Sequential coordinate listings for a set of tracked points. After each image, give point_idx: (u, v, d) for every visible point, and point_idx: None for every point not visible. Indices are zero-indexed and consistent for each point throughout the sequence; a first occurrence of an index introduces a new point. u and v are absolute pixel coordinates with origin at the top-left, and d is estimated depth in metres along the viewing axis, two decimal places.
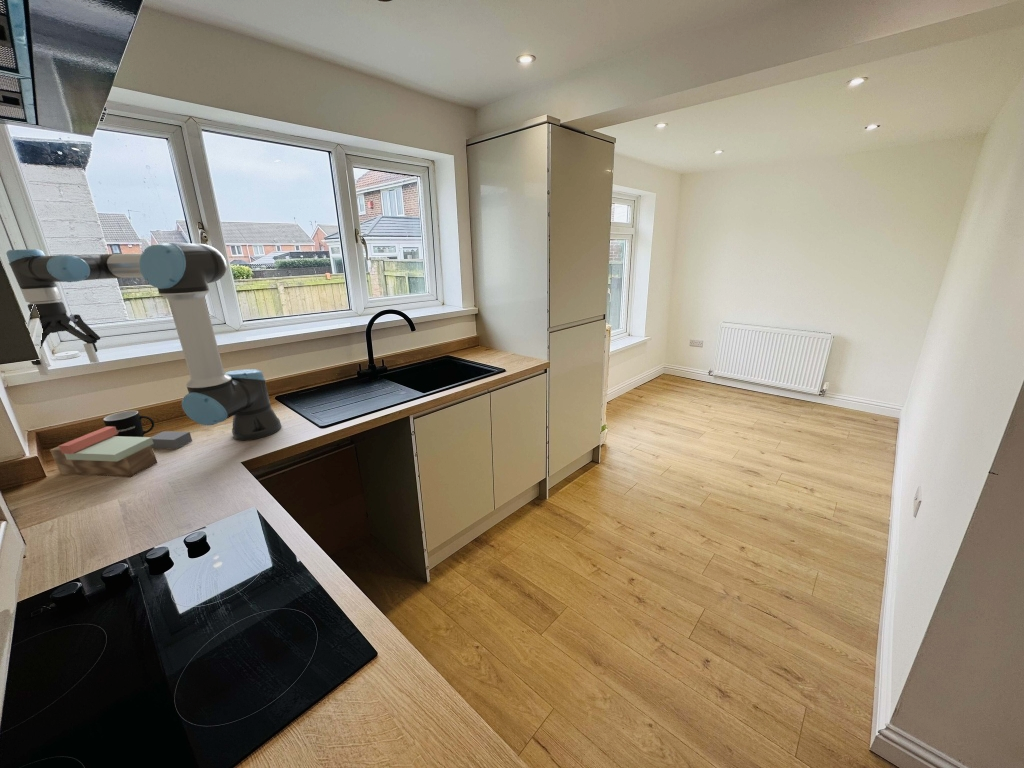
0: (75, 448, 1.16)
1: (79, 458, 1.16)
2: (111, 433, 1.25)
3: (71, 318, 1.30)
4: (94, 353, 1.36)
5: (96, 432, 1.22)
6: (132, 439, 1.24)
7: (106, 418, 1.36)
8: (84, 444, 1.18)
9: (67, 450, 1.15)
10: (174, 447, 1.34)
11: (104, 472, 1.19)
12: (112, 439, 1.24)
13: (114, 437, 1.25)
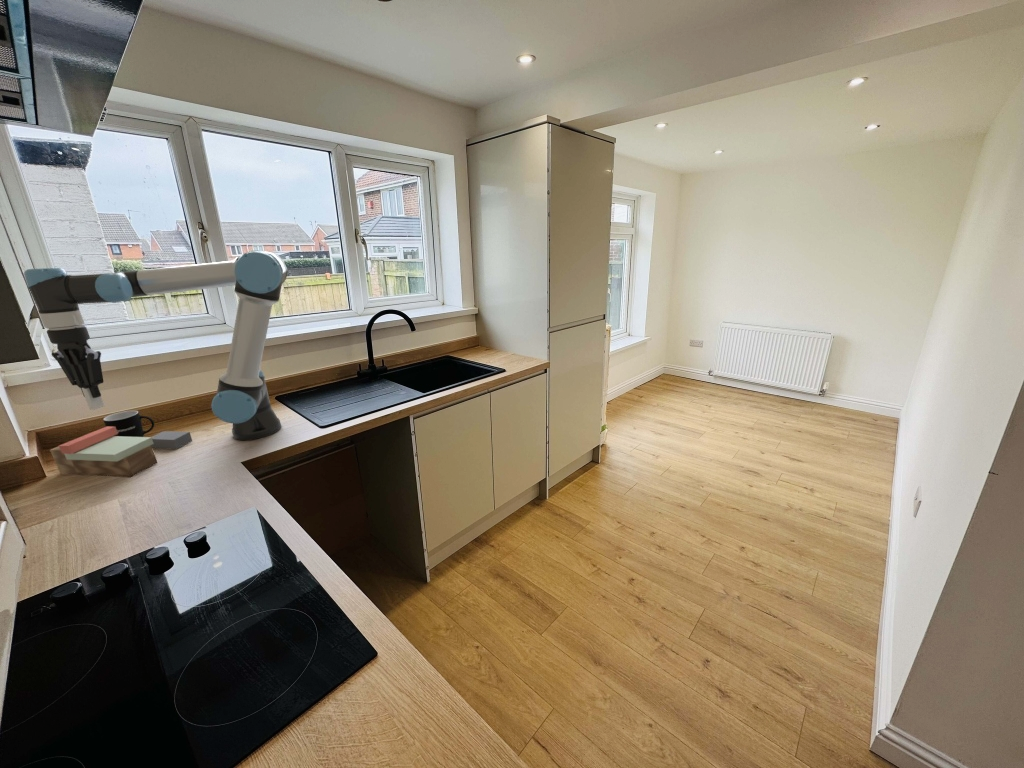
0: (75, 448, 1.16)
1: (79, 458, 1.16)
2: (111, 433, 1.25)
3: (87, 352, 1.10)
4: (89, 399, 1.14)
5: (96, 432, 1.22)
6: (132, 439, 1.24)
7: (106, 418, 1.36)
8: (84, 444, 1.18)
9: (67, 450, 1.15)
10: (174, 447, 1.34)
11: (104, 472, 1.19)
12: (112, 439, 1.24)
13: (114, 437, 1.25)
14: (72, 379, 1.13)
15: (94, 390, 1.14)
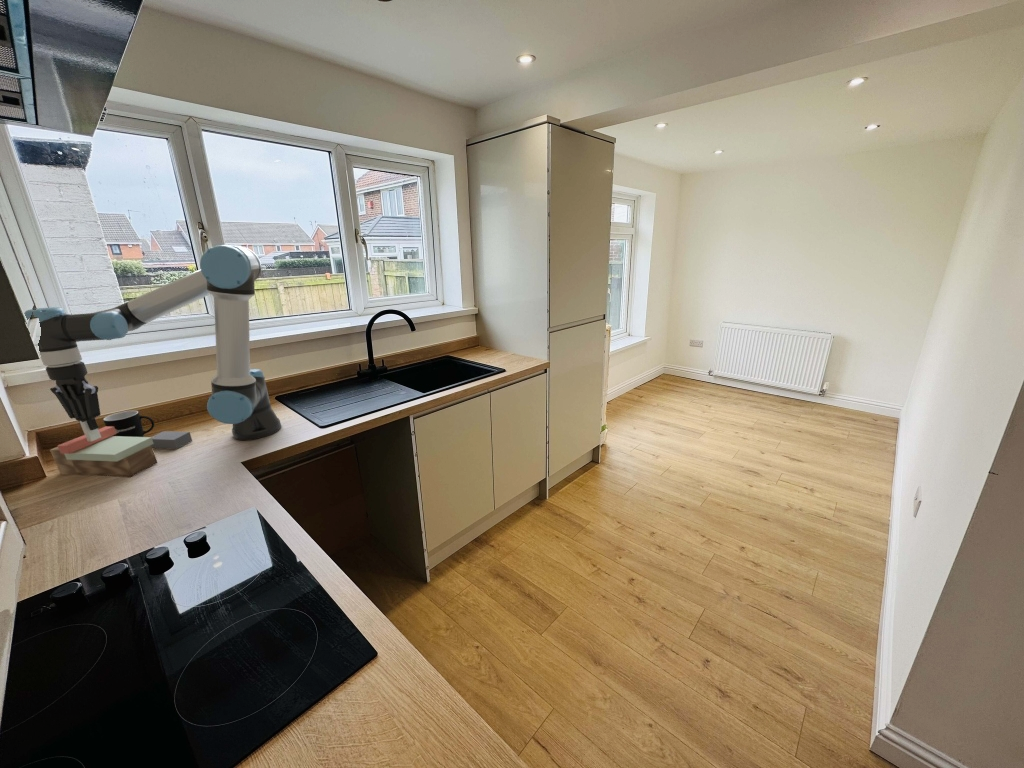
0: (74, 448, 1.16)
1: (79, 458, 1.16)
2: (110, 433, 1.25)
3: (85, 387, 1.14)
4: (86, 431, 1.18)
5: None
6: (132, 439, 1.24)
7: (106, 418, 1.36)
8: (83, 444, 1.18)
9: (66, 450, 1.15)
10: (174, 447, 1.34)
11: (104, 472, 1.19)
12: (112, 439, 1.24)
13: (114, 437, 1.25)
14: (70, 412, 1.17)
15: (91, 423, 1.18)
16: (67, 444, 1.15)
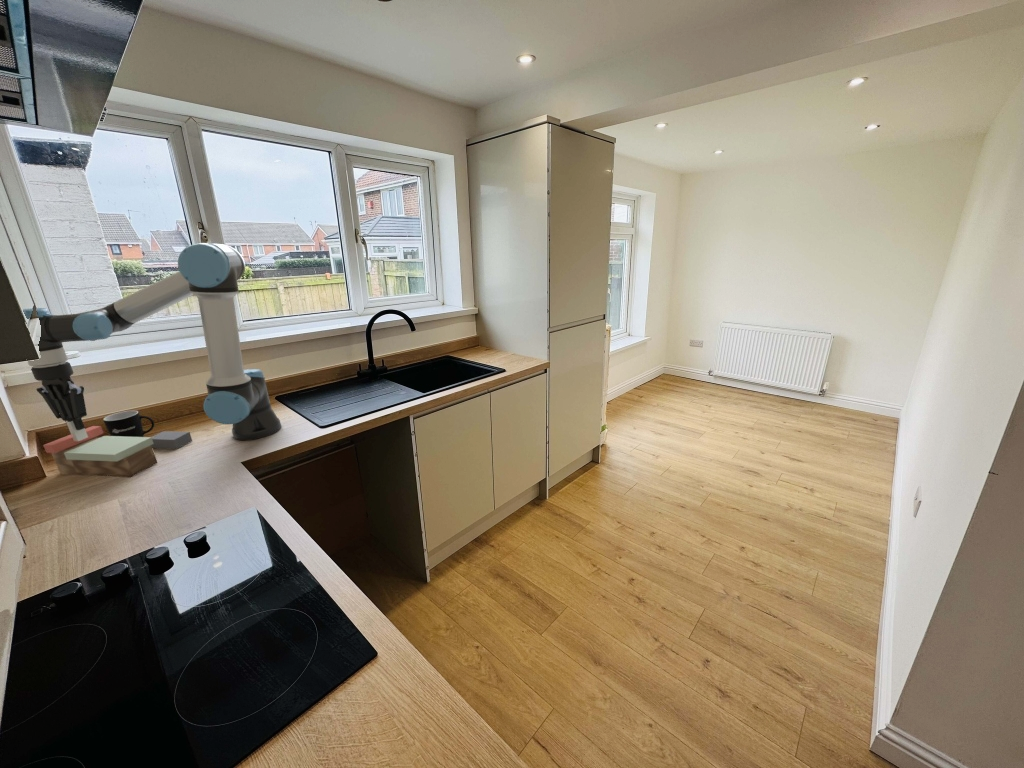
0: (60, 447, 1.17)
1: (79, 458, 1.16)
2: (97, 433, 1.26)
3: (70, 387, 1.15)
4: (73, 431, 1.19)
5: None
6: (132, 439, 1.24)
7: (106, 418, 1.36)
8: (69, 443, 1.19)
9: (51, 449, 1.15)
10: (174, 447, 1.34)
11: (104, 472, 1.19)
12: (112, 439, 1.24)
13: (114, 437, 1.25)
14: (56, 413, 1.17)
15: (78, 423, 1.19)
16: (53, 443, 1.16)
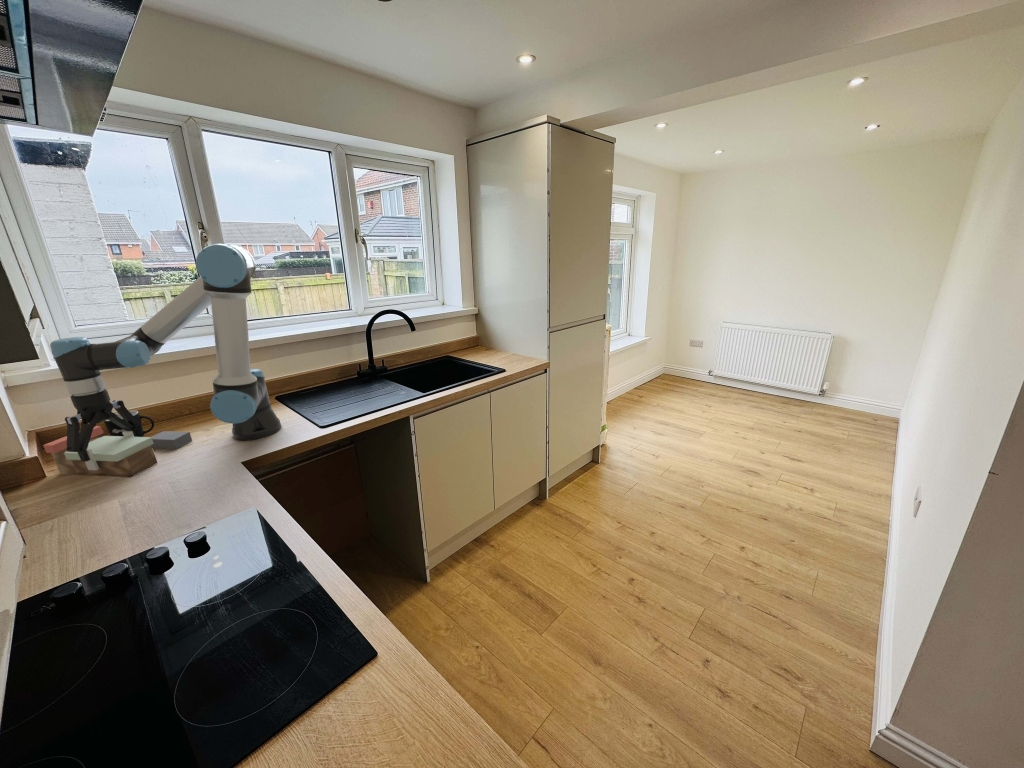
0: (60, 447, 1.17)
1: (79, 458, 1.16)
2: (97, 433, 1.26)
3: (114, 405, 1.21)
4: None
5: None
6: (132, 439, 1.24)
7: None
8: None
9: (51, 449, 1.15)
10: (174, 447, 1.34)
11: (104, 472, 1.19)
12: (112, 439, 1.24)
13: (114, 437, 1.25)
14: (78, 445, 1.12)
15: None
16: (53, 444, 1.16)
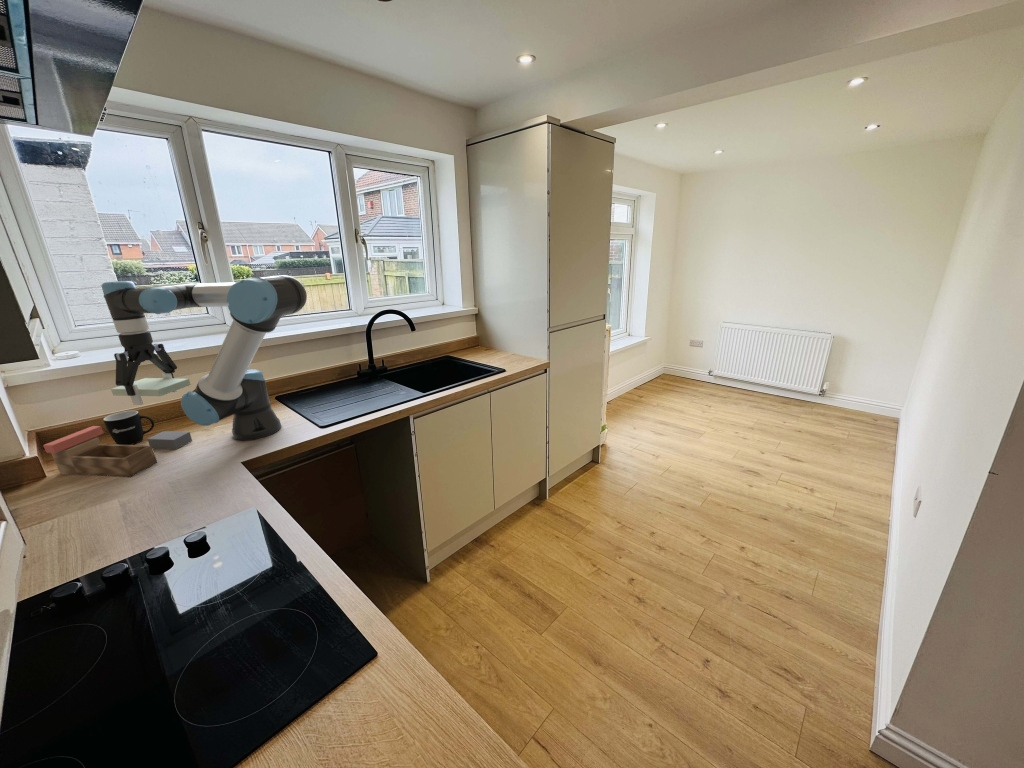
0: (60, 447, 1.17)
1: (125, 394, 1.27)
2: (97, 433, 1.26)
3: (155, 347, 1.32)
4: None
5: (81, 432, 1.23)
6: (171, 379, 1.34)
7: (106, 418, 1.36)
8: (69, 443, 1.19)
9: (51, 449, 1.15)
10: (174, 447, 1.34)
11: (104, 472, 1.19)
12: (153, 380, 1.34)
13: (154, 379, 1.36)
14: (126, 380, 1.22)
15: None
16: (53, 444, 1.16)
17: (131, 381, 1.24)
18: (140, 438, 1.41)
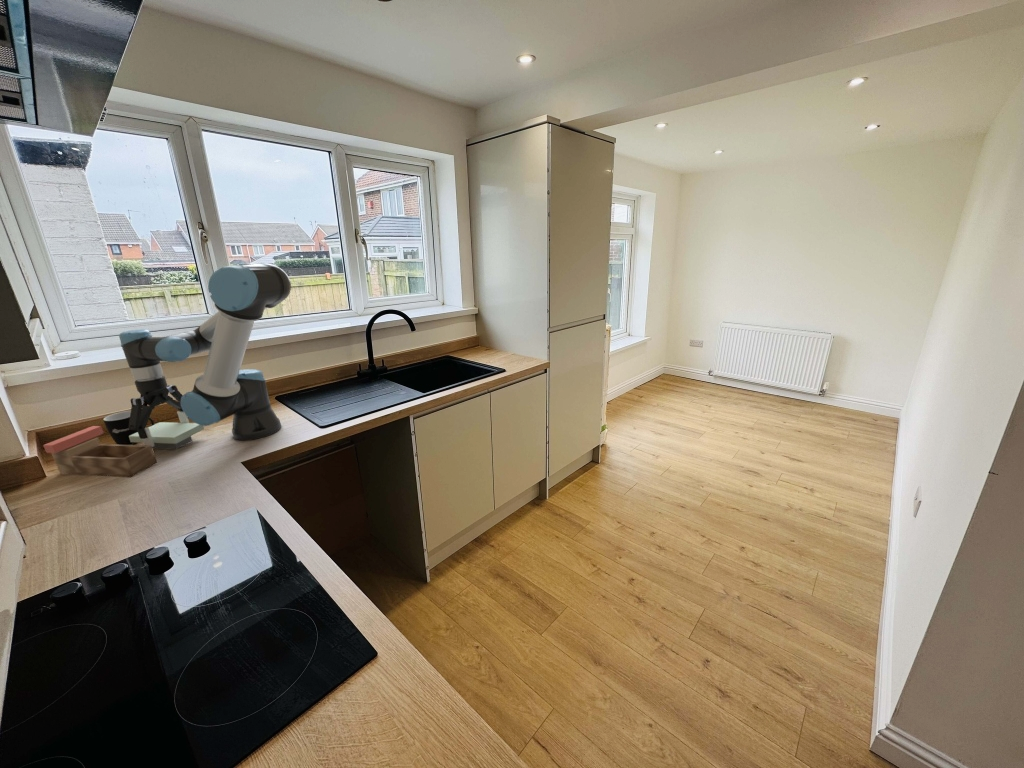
0: (60, 447, 1.17)
1: (142, 441, 1.32)
2: (97, 433, 1.26)
3: (169, 389, 1.36)
4: (187, 420, 1.42)
5: (81, 432, 1.23)
6: (186, 424, 1.39)
7: (106, 418, 1.36)
8: (69, 443, 1.19)
9: (51, 449, 1.15)
10: (174, 447, 1.34)
11: (104, 472, 1.19)
12: (168, 425, 1.39)
13: (169, 423, 1.41)
14: (139, 424, 1.26)
15: None
16: (53, 444, 1.16)
17: (143, 425, 1.27)
18: None
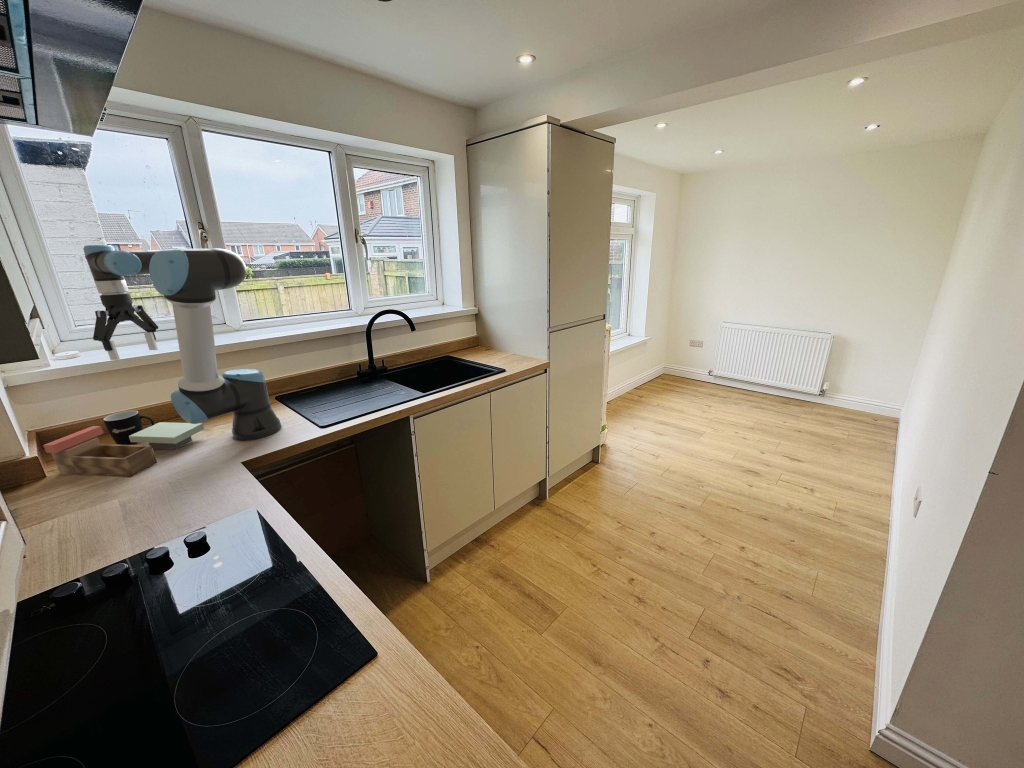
0: (60, 447, 1.17)
1: (142, 441, 1.32)
2: (97, 433, 1.26)
3: (135, 308, 1.41)
4: (154, 341, 1.47)
5: (81, 432, 1.23)
6: (186, 424, 1.39)
7: (106, 418, 1.36)
8: (69, 443, 1.19)
9: (51, 449, 1.15)
10: (174, 447, 1.34)
11: (104, 472, 1.19)
12: (168, 425, 1.39)
13: (169, 423, 1.41)
14: (103, 335, 1.31)
15: None
16: (53, 444, 1.16)
17: (108, 337, 1.32)
18: None
